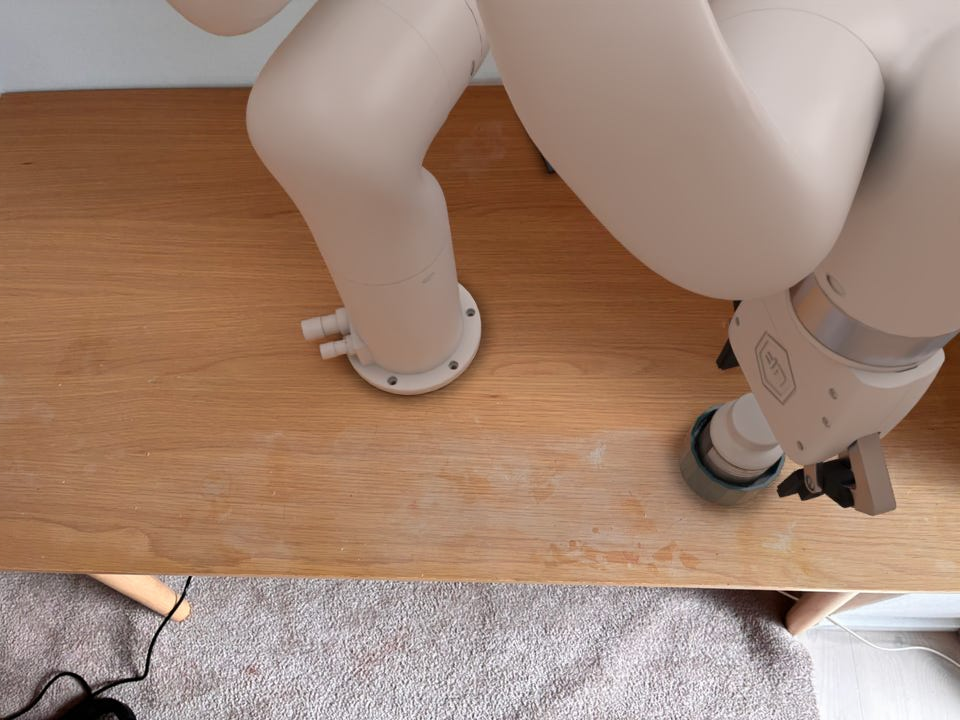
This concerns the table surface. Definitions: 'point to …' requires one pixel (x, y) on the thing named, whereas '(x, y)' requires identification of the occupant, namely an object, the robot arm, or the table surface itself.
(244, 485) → the table surface
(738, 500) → the cup
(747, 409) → the pill bottle
